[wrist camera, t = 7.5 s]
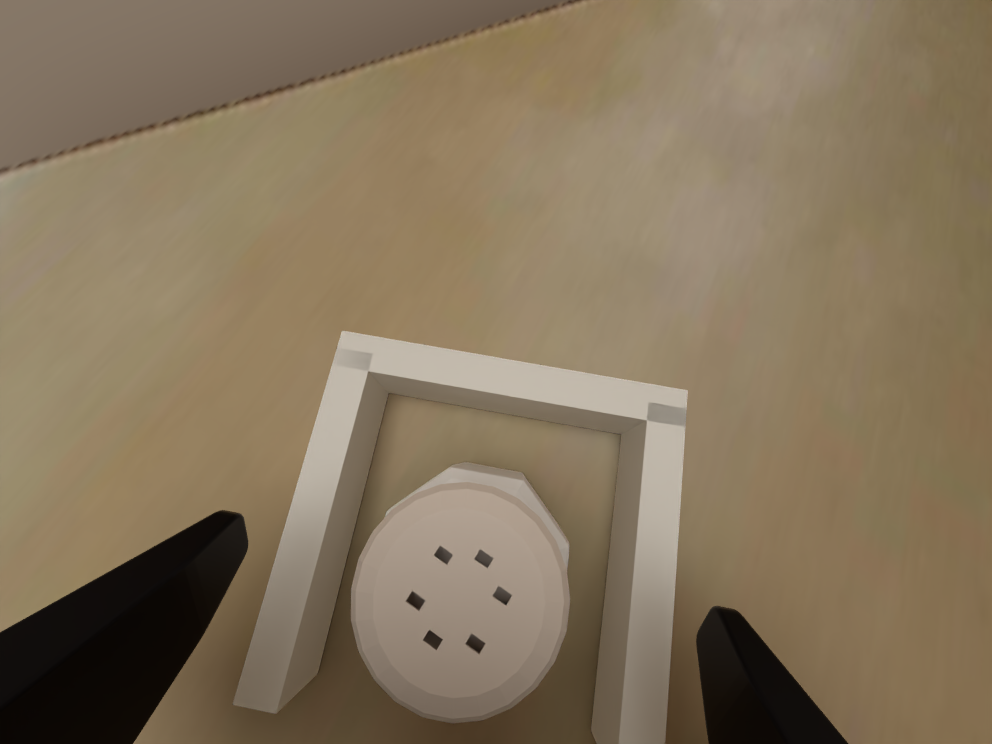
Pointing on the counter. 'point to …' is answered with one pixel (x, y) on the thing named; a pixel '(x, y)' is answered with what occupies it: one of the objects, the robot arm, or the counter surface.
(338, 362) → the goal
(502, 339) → the counter surface
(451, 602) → the pepper shaker
